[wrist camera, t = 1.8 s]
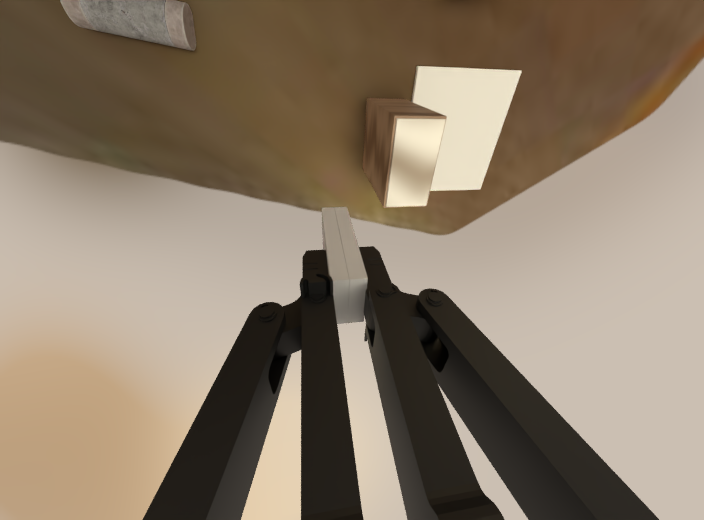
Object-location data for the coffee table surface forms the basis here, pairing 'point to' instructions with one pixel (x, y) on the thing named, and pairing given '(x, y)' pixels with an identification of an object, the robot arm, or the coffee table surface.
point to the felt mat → (465, 119)
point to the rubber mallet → (137, 19)
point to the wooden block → (401, 150)
